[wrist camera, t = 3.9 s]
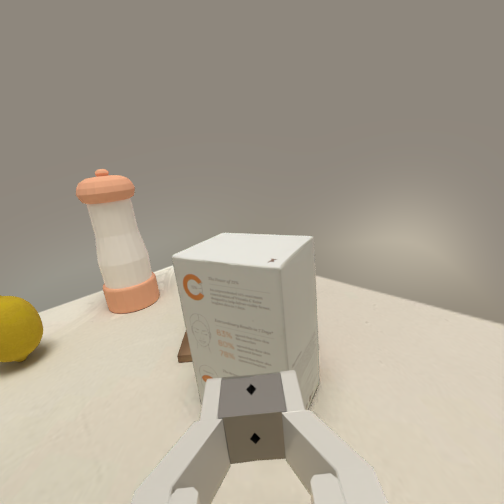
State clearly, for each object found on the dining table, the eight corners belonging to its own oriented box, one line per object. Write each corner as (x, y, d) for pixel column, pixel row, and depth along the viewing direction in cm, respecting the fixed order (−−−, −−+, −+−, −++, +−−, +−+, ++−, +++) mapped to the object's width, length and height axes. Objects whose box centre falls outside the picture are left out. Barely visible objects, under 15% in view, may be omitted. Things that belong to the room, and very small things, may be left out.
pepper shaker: (169, 293, 43) (142, 165, 37) (130, 317, 37) (90, 169, 31) (138, 287, 47) (108, 169, 41) (97, 308, 41) (56, 173, 35)
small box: (320, 382, 24) (317, 234, 20) (293, 449, 18) (280, 267, 14) (239, 357, 28) (222, 230, 24) (199, 407, 22) (167, 255, 18)
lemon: (31, 342, 34) (7, 282, 32) (63, 348, 32) (40, 285, 30) (-23, 374, 29) (-57, 307, 27) (11, 383, 27) (-23, 312, 25)
